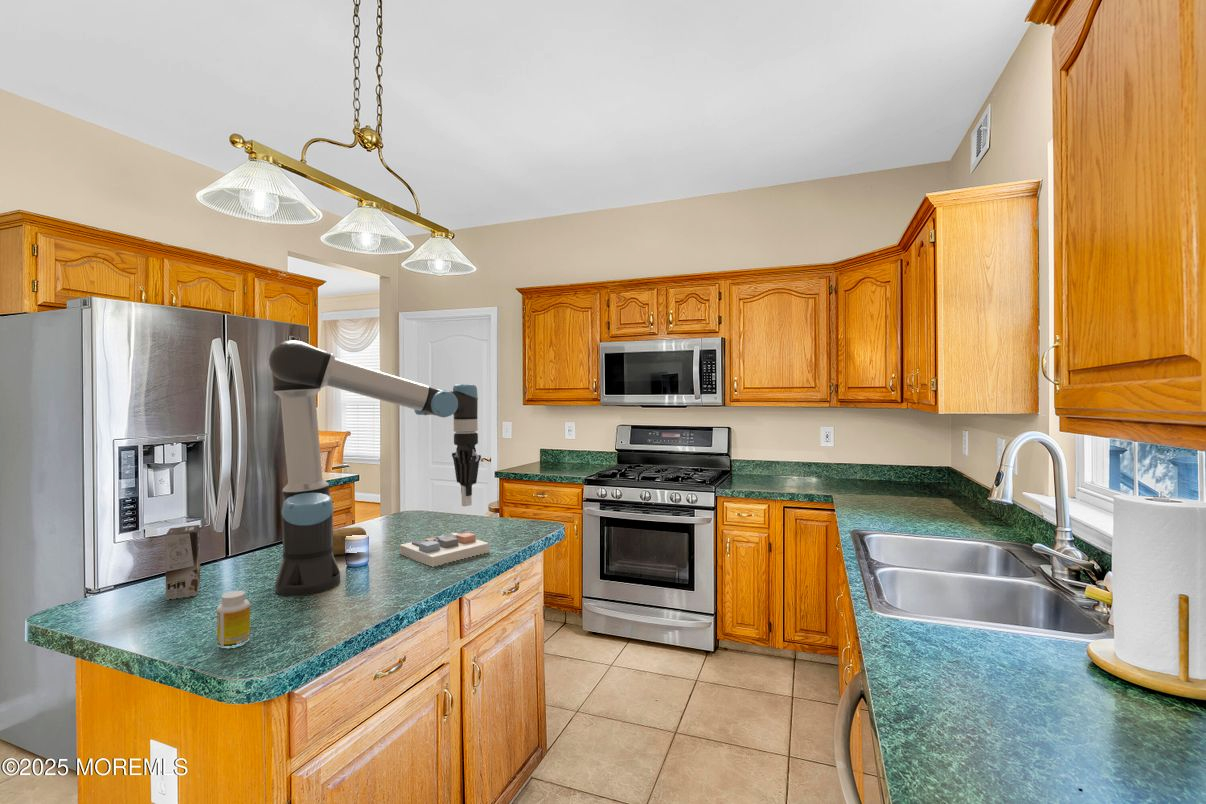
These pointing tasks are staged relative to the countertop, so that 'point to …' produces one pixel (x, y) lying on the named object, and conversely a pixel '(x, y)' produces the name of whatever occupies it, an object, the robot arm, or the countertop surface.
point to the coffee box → (182, 562)
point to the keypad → (443, 551)
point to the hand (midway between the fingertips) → (466, 505)
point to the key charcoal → (448, 542)
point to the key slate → (429, 546)
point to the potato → (340, 537)
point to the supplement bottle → (233, 619)
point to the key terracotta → (466, 538)
